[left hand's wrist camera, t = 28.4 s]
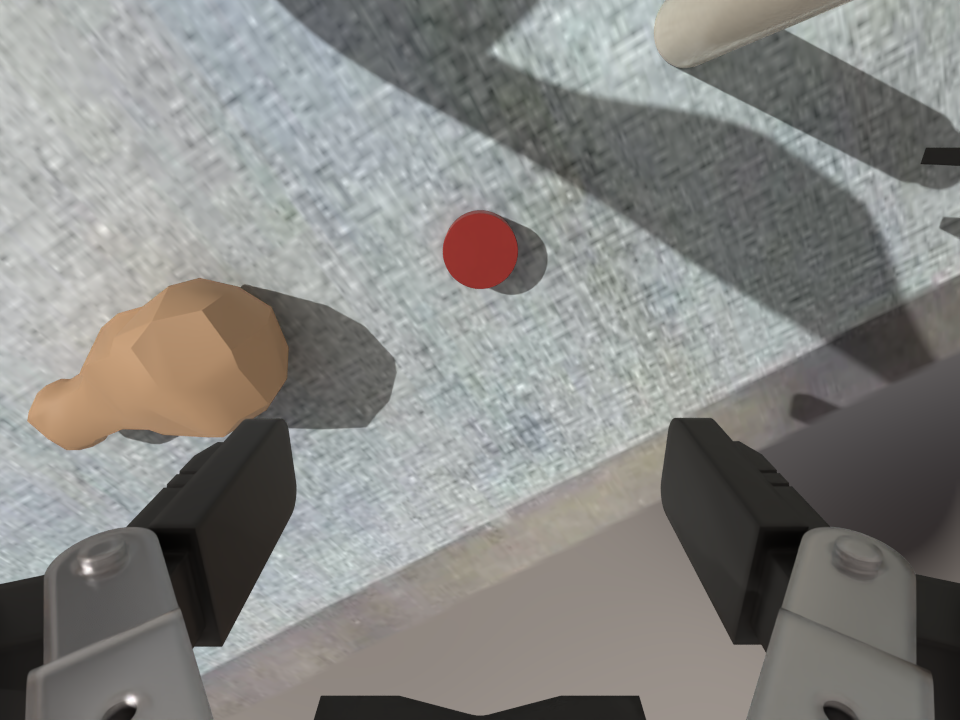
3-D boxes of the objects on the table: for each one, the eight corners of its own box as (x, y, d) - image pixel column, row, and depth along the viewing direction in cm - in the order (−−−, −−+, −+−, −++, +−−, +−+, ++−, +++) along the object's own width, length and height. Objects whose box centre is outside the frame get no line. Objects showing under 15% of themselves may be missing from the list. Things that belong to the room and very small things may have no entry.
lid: (471, 195, 37) (470, 197, 35) (530, 237, 38) (532, 242, 36) (431, 255, 38) (428, 261, 36) (489, 295, 39) (489, 303, 37)
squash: (335, 359, 41) (297, 437, 34) (146, 440, 46) (77, 523, 39) (243, 236, 36) (174, 296, 28) (43, 344, 41) (-60, 418, 34)
